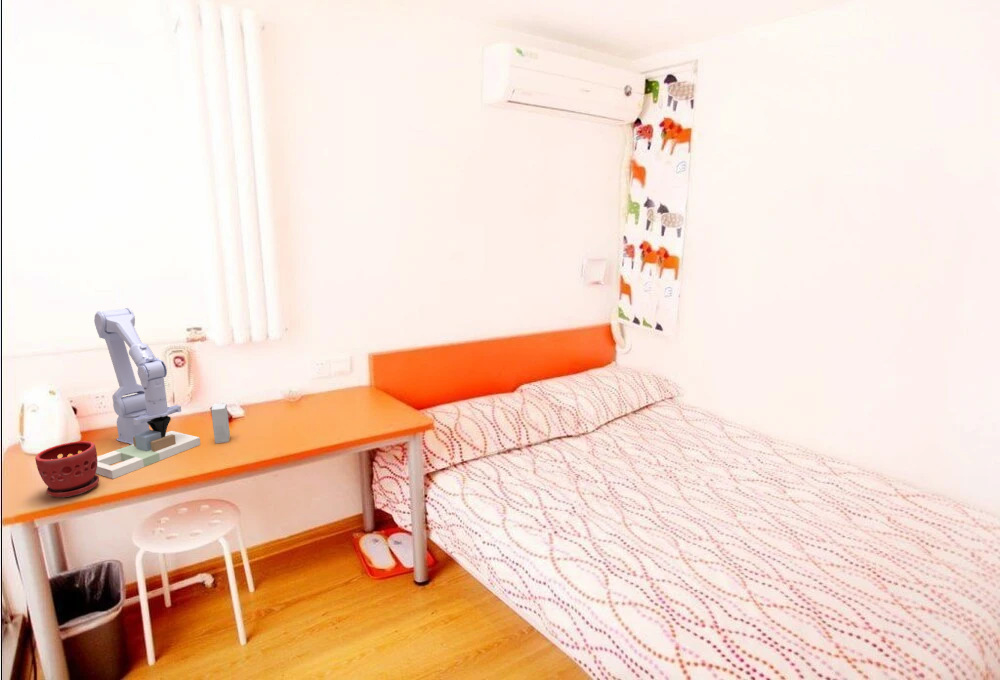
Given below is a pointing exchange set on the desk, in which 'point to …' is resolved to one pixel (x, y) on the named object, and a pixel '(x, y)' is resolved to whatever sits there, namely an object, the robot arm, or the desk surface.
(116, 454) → the deck
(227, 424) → the skincare box
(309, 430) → the desk surface
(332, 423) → the desk surface
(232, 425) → the desk surface
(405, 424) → the desk surface
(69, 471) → the plant pot
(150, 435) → the block
